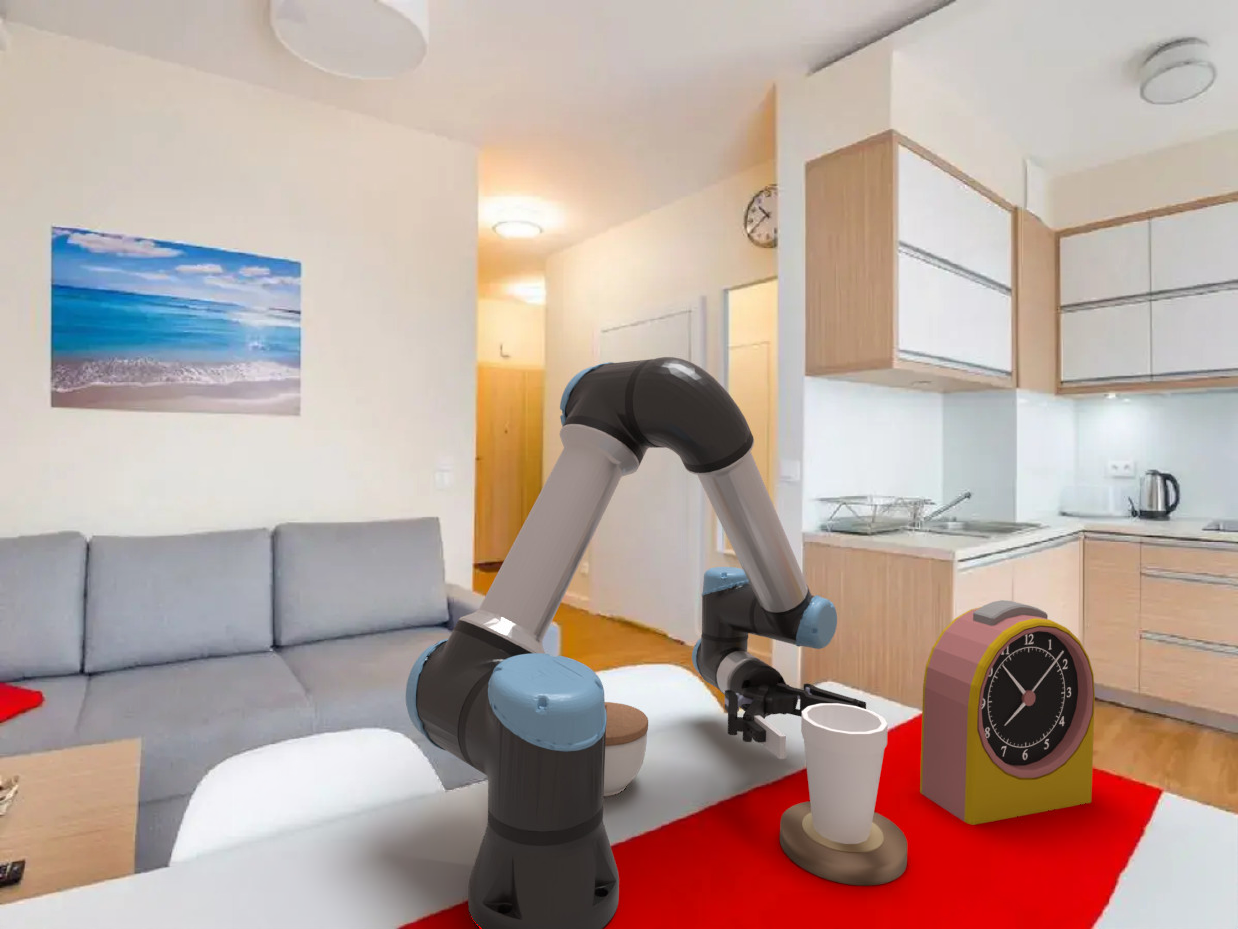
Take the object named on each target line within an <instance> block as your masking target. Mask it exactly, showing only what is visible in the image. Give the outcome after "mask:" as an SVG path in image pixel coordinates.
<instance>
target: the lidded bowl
mask: <svg viewBox="0 0 1238 929" xmlns="http://www.w3.org/2000/svg"><path fill="white" fill-rule="evenodd" d="M605 709H606V714H607V720H606V723H607V725H606V741H605V767H604V794H603V798H604V796H605V797H611V796H616V795H618V793H619V794H621V793H622V792H624V791H625V790H626V789H627V787H628V785H629V784H630V783H632V781H633V780H634V779H635V778H636V777H637V776H638V773H639V772H640V771H641V768H642V766H643V764H644V760H645V756H646V749H647V742H648V741H647V740H648V739H647V738H648V730H649V718H648V716H647V715H646V713H644V712H643V711H642V710H640V709H638V708H637V707H635V706H631V705H628V704H624V703H618V702H612V701H611V702H610V701H605ZM626 786H627V787H626ZM625 788H626V789H625ZM624 789H625V790H624ZM621 791H622V792H621ZM620 792H621V793H620ZM615 794H616V795H615Z"/></svg>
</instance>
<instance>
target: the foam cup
mask: <svg viewBox="0 0 1238 929" xmlns="http://www.w3.org/2000/svg"><path fill="white" fill-rule="evenodd" d="M886 721H887V720H886V719H885V718H884V717H883V716H882V715H879V714H878V713H876V712H874V711H872V710H870V709H867V708H866V709H864V708H860V707H857V706H852V705H845V704H838V703H820V704H816V705H811V706H808V707H806V708H805V709H804V710H803V711H802V717H801V723H800V725H801V726H800V727H801V728H800V732H801V735H802V739H803V744H804V753H805V764H806V774H807V781H808V792H809V800H810V803H811V812H812V819H813V826H814V830H815V831H816V832H818V833H819V834H820V835H821V836H822V837H824V838H827V839H829V840H831V841H834V842H838V843H843V844H859V843H861V842H864V841H867V839H868V837H869V836H870V830H871V827H872V821H873V815H874V812H875V807H876V802H877V795H878V790H879V783H880V777H881V771H882V767H883V766H882V765H883V759H884V755H885V754H884V753H885V748H886V747H887V745H888V726H889V725H888V723H887V722H886Z"/></svg>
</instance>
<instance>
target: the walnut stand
mask: <svg viewBox="0 0 1238 929" xmlns="http://www.w3.org/2000/svg"><path fill="white" fill-rule="evenodd" d="M779 823H780V824H779V826H780V827H779V842H780V843H779V844H780V846H781V848H782V851H783V852H784V853H785V854H786V856H787V857H788V858H789V859H790V860H791V862H793V863H795V864H796V865H797V866H799V868H802V869H803V870H805V871H807V872H809V873H811V874H812V875H815V876H817V877H820V878H822V879H825V880H829V881H830V882H831V881H832V882H835V883H840V884H845V885H852V886H878V885H882V884H887V883H889V882H890V883H891V882H892V881H895V880H896V879H898V878H900V877H901V876H902V875H903V874H904V872H905V871H906V868H907V863H908V840H907V837H906V836H905V834H904V832H903V831H902V830H901V828H899V826H897V825H896V824H895V823H894V822H893V821H891V820H890V819H889V818H887V817H885V816H883V815H882V814H880V813H878V812H875V811H874V815H873V821H872V827H871V830H870V836H869V837H868V839H867V841H864V842H861V843H859V844H843V843H838V842H834V841H831V840H829V839H827V838H824V837H822V836H821V835H820V834H819V833H818V832H816V831H815V830H814V826H813V819H812V812H811V803H810V801H805V802H804V801H803V802H800V803H797V804H794V805H791V807H788V808H787V809H786V810H785V811H783V813H782V815H781V818H780V822H779Z"/></svg>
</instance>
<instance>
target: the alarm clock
mask: <svg viewBox="0 0 1238 929" xmlns="http://www.w3.org/2000/svg"><path fill="white" fill-rule="evenodd" d="M1094 676H1095V674H1094V672H1093V668H1092V664H1091V660H1090V658H1089V655H1088V653H1087V651H1086V649H1085V648H1084V646H1083V644H1082V642H1081V641H1080V639H1079V638H1078V637H1077V636H1076V635H1075V634H1074V633H1073V632H1072V631H1071V630H1070V629H1069V628H1067V627H1066V626H1063V625H1062V624H1060V623H1058V622H1055V621H1053V620H1051V619H1050V618H1049V619H1048V613H1047V612H1045V611H1044V610H1042V609H1041V608H1038V607H1035V606H1031V605H1028V604H1024V603H1021V602H1017V601H1012V600H1001V599H999V600H997V601H996V600H995V601H992V602H989V603H987V604H984V605H982V606H980V607H975V608H971V609H969V610H967V611H965V612H964V613H962V614H961V615H959V616H957V617H955V618H954V619H953V620H952V621H951V622H950V623H949V624H948V625H947V626H946V627H945V628H944V629H942V631H941V633H940V634H939V636H938V637H937V640H936V641H935V642H934V644H933V646H932V647H931V650H930V653H929V655H928V659H927V661H926V664H925V669H924V677H923V684H922V685H923V686H922V708H921V711H922V712H921V713H922V714H921V740H920V741H921V744H920V745H921V746H920V748H921V749H920V750H921V751H920V783H919V785H920V786H919V789H920V790H919V792H920V794H921V795H923V796H924V797H926V798H927V799H929V800H930V801H932V802H933V803H935V804H937V805H938V806H939V807H940V808H943V809H944V810H946V811H947V812H949V813H950V814H952V815H953V816H955V817H956V818H958V819H959V820H961V821H963V823H966V824H969V825H975V826H976V825H980V824H985V823H990V822H995V821H1000V820H1006V819H1012V818H1017V816H1018V817H1022V816H1028V815H1032V814H1039V813H1043V812H1049V811H1053V810H1054V809H1055V810H1059V809H1064V808H1065V809H1066V808H1070V807H1075V806H1076V807H1077V806H1079V805H1080V804H1081V805H1084V804H1085V803H1086V804H1091V803H1092V793H1093V792H1092V791H1093V790H1092V789H1093V788H1092V787H1093V765H1094V764H1093V762H1094V761H1093V760H1094V759H1093V758H1094V757H1093V756H1094V734H1095V733H1094V731H1095V726H1094V725H1095V704H1096V703H1095V701H1096V699H1095V696H1096V695H1095V694H1096V693H1095V677H1094ZM1048 810H1049V811H1048ZM1055 810H1054V811H1055Z"/></svg>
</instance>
